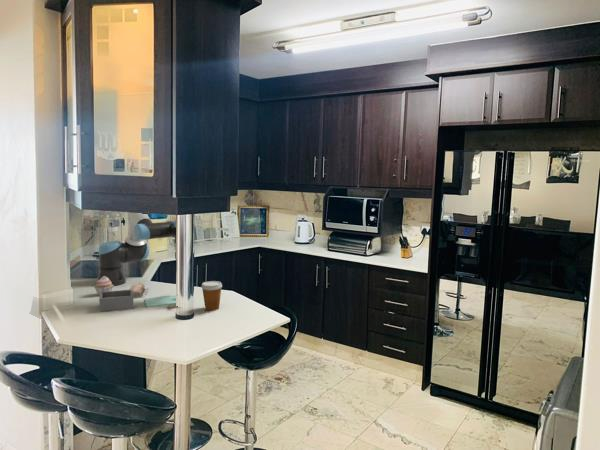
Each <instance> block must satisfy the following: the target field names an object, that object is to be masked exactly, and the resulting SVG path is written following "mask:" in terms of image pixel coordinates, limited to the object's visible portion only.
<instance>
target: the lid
mask: <svg viewBox="0 0 600 450" xmlns="http://www.w3.org/2000/svg"><path fill="white" fill-rule="evenodd" d="M176 296H177V295H170V296H156V297H146V298H145V297H144V302H145V307H146V308H152V307H154V308H155V307H164V306H167V307H168V306H176Z"/></svg>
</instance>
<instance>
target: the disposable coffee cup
mask: <svg viewBox="0 0 600 450" xmlns="http://www.w3.org/2000/svg"><path fill="white" fill-rule="evenodd" d="M222 288H223V283H222V282H221V281H218V280H217V281H216V280H211V281H204V282H202V284H201V289H202V294H203V295H202V296H203V303H204V308H205V311H218V310H219V309H220V305H221V304H220V303H221V295H222Z"/></svg>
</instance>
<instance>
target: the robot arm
mask: <svg viewBox="0 0 600 450" xmlns="http://www.w3.org/2000/svg"><path fill="white" fill-rule="evenodd" d="M127 214H128V216H129V218H130V222H129V223H130V224H129V230H128V236H126V237H125V239H124V242H121V240H110V241H109V240H108V241H105V242H103V243H101V244H99V246H98V253H97V254H98V262H99V264H98V265H99V272H98V275H97V278H96V282H97V281H98V280H100V279H101V277H103V276H105V277H107V278H109V280H110V281H111V282H112V285H114V286H120V285H124V284H125V283H126V282H127V281H126V280H127V279H126V276H125V274H124V273H125V272H124V271H123V264H128V263H134V262H143V261H145V260H146V259H147V258H148V257H149V254H150V245H149V243H148V242H147V240H154V239H155V240H156V239H165V238H174V244H173V247H174V250H175V252H174V254H175V255H174V259H175V260H176V219H174V220H166V221H163V222H153V221H152V220H151V218H150V217H149V213H148V214H142V213H127ZM114 286H113V287H114Z"/></svg>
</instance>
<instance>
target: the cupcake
mask: <svg viewBox="0 0 600 450" xmlns="http://www.w3.org/2000/svg"><path fill="white" fill-rule="evenodd" d="M93 288H94V289H95V291H96V293H97V296H98V297H100V292H109V291H113V288H114V285H112V282H111V281H110V280H109V278H107V277H105V276H103V277H101V279H100V280H98V281H97V280H96V284H95V286H94V287H93Z"/></svg>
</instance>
